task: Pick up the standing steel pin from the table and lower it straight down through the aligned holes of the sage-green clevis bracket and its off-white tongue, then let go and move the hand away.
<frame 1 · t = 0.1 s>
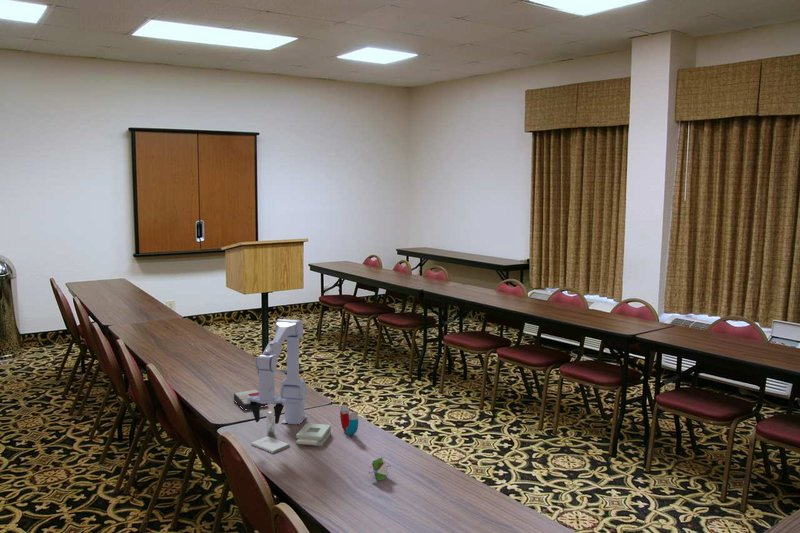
hand: (267, 422, 232), 10 cm above the table, tool pointing down, fingers open, 7 cm apart
external hard drive: (270, 447, 235), on the table
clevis: (313, 438, 242), on the table
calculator: (250, 404, 280), on the table
pin: (270, 434, 246), on the table
geometric puzzle: (379, 478, 210), on the table
magnet: (349, 433, 247), on the table
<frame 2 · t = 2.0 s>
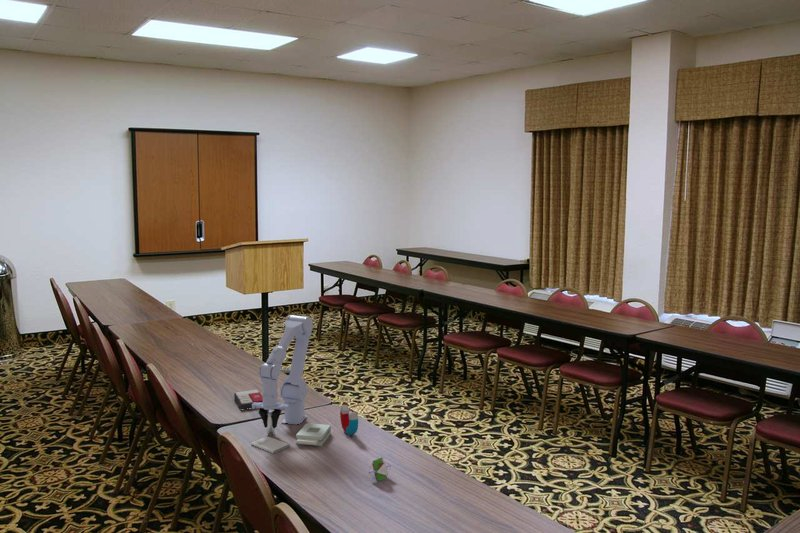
hand: (270, 427, 246), 3 cm above the table, tool pointing down, fingers closed on pin, 3 cm apart
pin: (270, 434, 246), on the table, touching gripper
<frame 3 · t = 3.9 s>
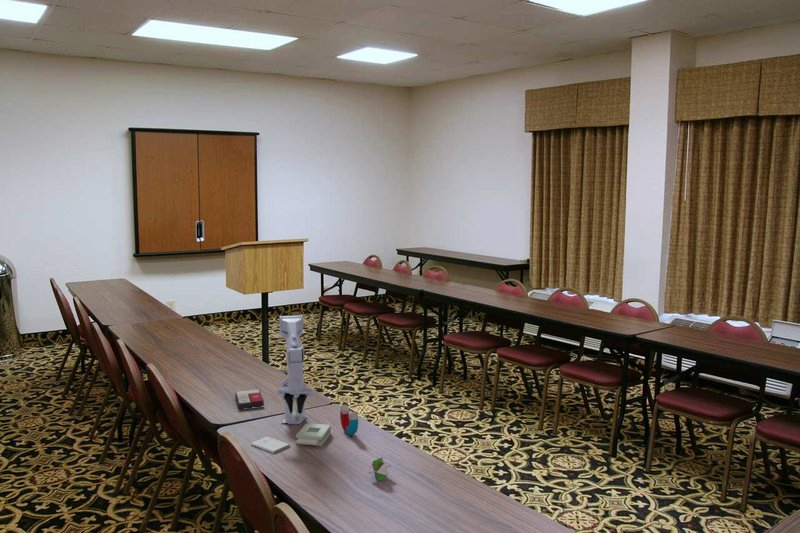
hand: (296, 412, 242), 10 cm above the table, tool pointing down, fingers closed on pin, 3 cm apart
pin: (296, 419, 242), point 7 cm above the table, touching gripper
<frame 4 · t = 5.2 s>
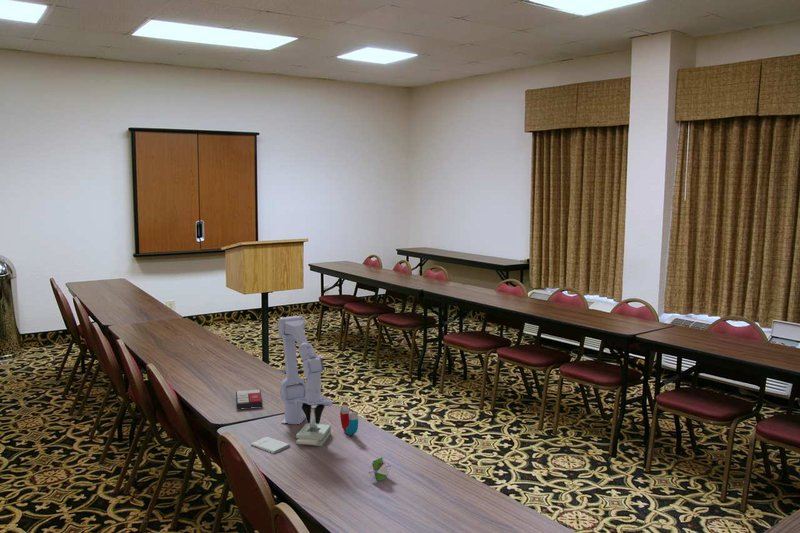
hand: (313, 422, 241), 7 cm above the table, tool pointing down, fingers closed on pin, 3 cm apart
pin: (313, 430, 241), point 4 cm above the table, touching gripper
when the fingers open (5 cm above the table, at t = 5.9 s): pin drops 2 cm, resting in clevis.
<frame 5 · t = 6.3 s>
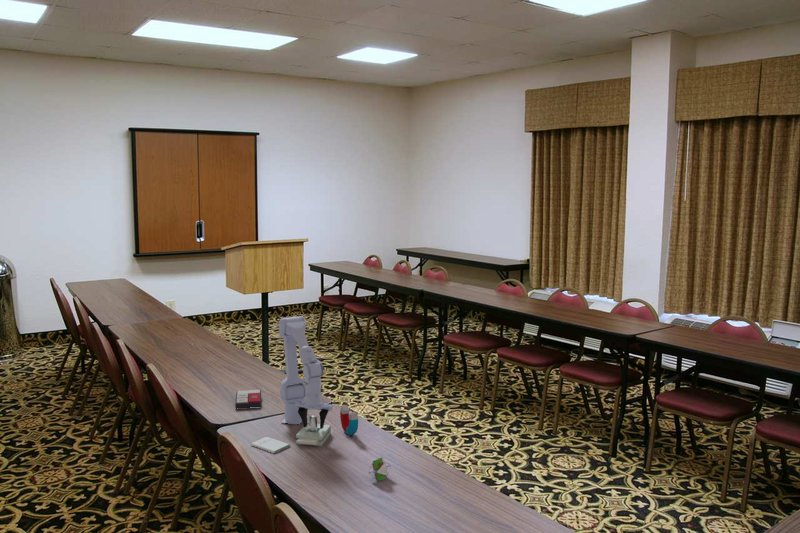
hand: (313, 427, 241), 5 cm above the table, tool pointing down, fingers open, 6 cm apart
pin: (313, 438, 242), resting in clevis
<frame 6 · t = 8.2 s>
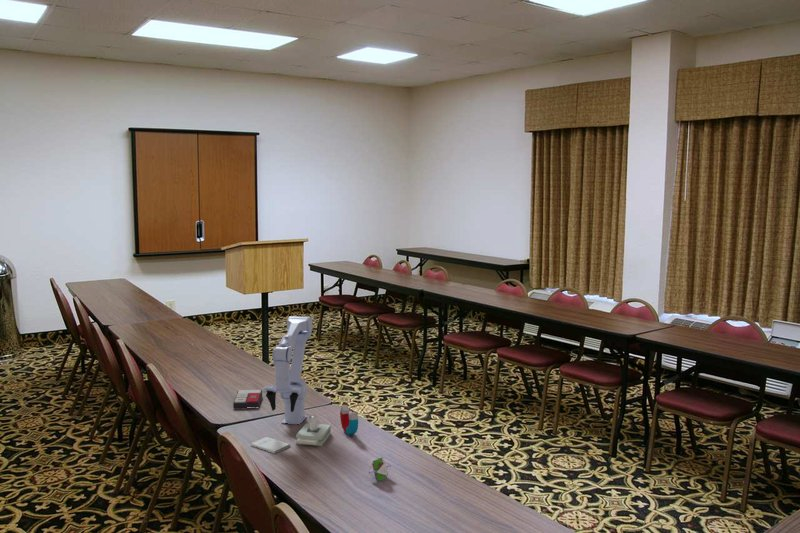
hand: (283, 410, 245), 10 cm above the table, tool pointing down, fingers open, 7 cm apart
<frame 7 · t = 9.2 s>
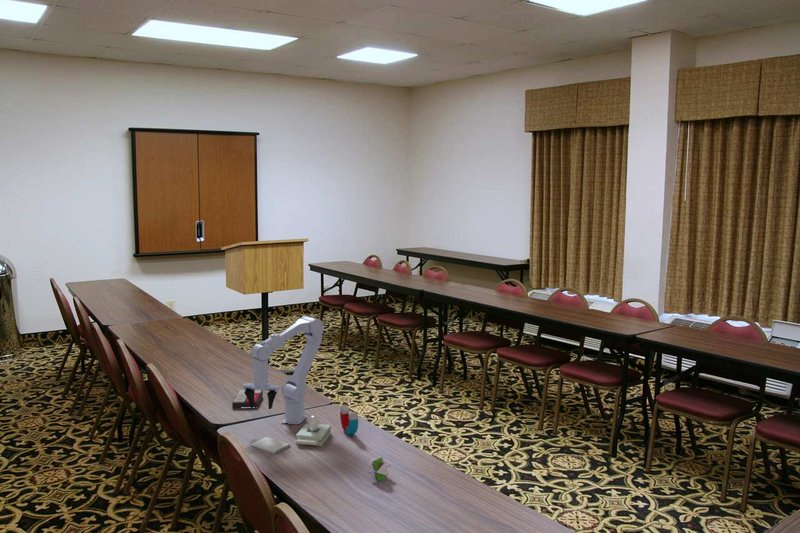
hand: (261, 407, 248), 9 cm above the table, tool pointing down, fingers open, 7 cm apart
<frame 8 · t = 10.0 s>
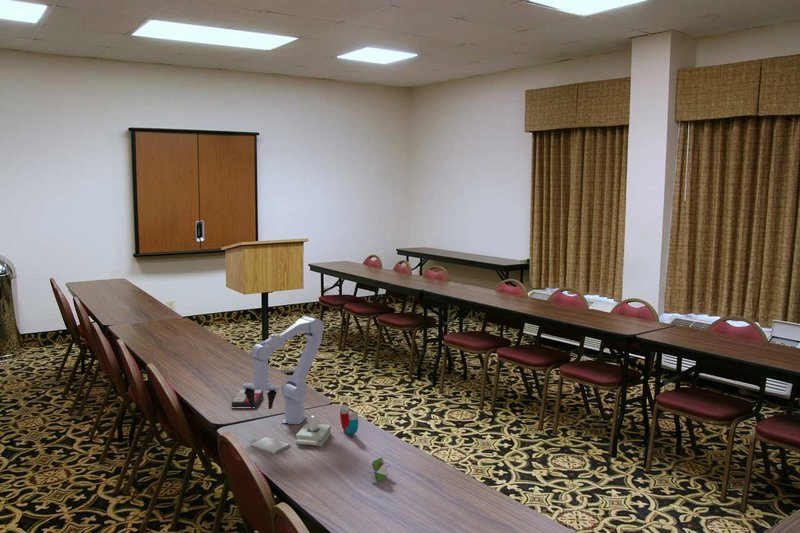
hand: (261, 407, 248), 9 cm above the table, tool pointing down, fingers open, 7 cm apart
at the end: pin 0.1 cm off-centre on the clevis, point 0.0 cm above the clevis's base; pin tilted 0°; the gripper is holding nothing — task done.
